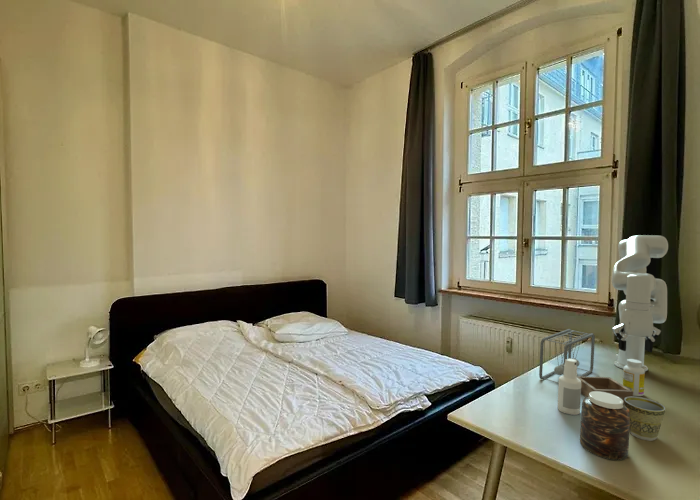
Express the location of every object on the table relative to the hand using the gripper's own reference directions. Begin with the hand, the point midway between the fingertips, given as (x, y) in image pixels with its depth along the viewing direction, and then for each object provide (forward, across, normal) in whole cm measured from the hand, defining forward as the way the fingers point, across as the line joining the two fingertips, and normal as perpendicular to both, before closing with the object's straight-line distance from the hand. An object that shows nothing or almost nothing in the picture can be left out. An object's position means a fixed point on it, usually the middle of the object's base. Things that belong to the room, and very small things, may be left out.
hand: (635, 350), depth 146 cm
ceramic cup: (+18, +16, +30) cm, 39 cm away
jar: (+18, +34, +39) cm, 55 cm away
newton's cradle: (+17, +16, -17) cm, 29 cm away
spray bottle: (+18, +32, +16) cm, 41 cm away
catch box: (+17, +14, +3) cm, 22 cm away
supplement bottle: (+17, 0, -1) cm, 17 cm away
